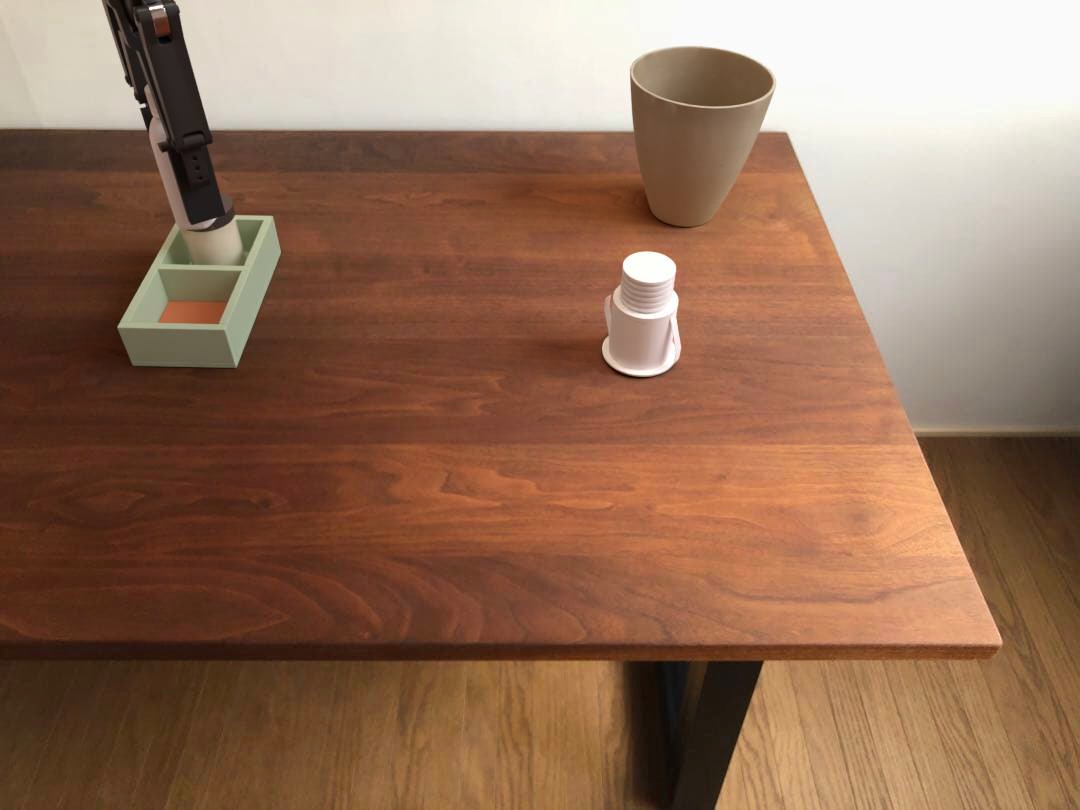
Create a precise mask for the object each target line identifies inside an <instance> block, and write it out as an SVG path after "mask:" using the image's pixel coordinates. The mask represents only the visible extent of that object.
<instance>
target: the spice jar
mask: <svg viewBox="0 0 1080 810" xmlns="http://www.w3.org/2000/svg"><path fill="white" fill-rule="evenodd" d="M220 195H221V199H222V202H223V206H224V210H225V213H226V215H224V216H221V217H218V218H216V220H215V221H214V222H213V223H212V224H211V225H210V226H209V227H207V228H205V229H195V230H182V229H181V231H182V234H183V237H184V240H185V243H186V247H187V250H188V253H189V256H190V259H191V263H192V265H225V266H244V264H245V262H246V256H245V252H244V248H243V244H242V241H241V237H240V233H239V229H238V225H237V221H236V218H235V215H236V210H235V206H234V202H233V199H232V198H231V197H230V196H229V195H228V194H227V193H223V192H220Z"/></svg>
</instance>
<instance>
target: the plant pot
mask: <svg viewBox="0 0 1080 810" xmlns="http://www.w3.org/2000/svg"><path fill="white" fill-rule="evenodd" d="M629 80H630V82H629V83H630V101H631V116H632V117H631V119H632V126H633V135H634V142H635V143H634V144H635V150H636V155H637V161H638V166H639V170H640V176H641V180H642V184H643V188H644V191H645V196H646V199H647V202H648V205H649V209H650V211H651V214H652V215H653V216H654V217H655V218H656V219H657V220H660V221H661V222H663V223H666V224H669V225H671V226H675V227H683V228H684V227H686V228H690V227H692V228H693V227H699V226H702V225H704V224H707V223H708V222H710V221H711V220H712V219H714V217H715V215H716V213H717V212H718V210H719V209H720V208H721V206H722V205H723V203H724V201H725V200H726V198H727V196H728V195H729V193H730V191H731V190H732V188H733V186H734V184H735V183H736V181H737V179H738V178H739V175H740V174H741V171H742V169H743V168H744V166H745V164H746V161H747V160H748V158H749V155H750V153H751V151H752V149H753V147H754V145H755V143H756V140H757V138H758V135H759V133H760V131H761V128H762V126H763V124H764V120H765V118H766V115H767V112H768V110H769V107H770V104H771V102H772V98H773V95H774V93H775V91H776V87H777V78H776V76H775V74H774V73H773V72H772V70H771V69H770V68H769V67H768V66H766V65H764V64H763V63H762V62H761V61H759V60H756V59H755V58H753V57H751V56H748V55H745V54H743V53H740V52H737V51H733V50H730V49H725V48H720V47H711V46H703V45H678V46H670V47H664V48H657V49H654V50H652V51H649V52H646V53H644V54H642V55H641V56H638V57H637V58H636V59H635V60H634V61H633V62H632V63H631V65H630V67H629Z"/></svg>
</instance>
